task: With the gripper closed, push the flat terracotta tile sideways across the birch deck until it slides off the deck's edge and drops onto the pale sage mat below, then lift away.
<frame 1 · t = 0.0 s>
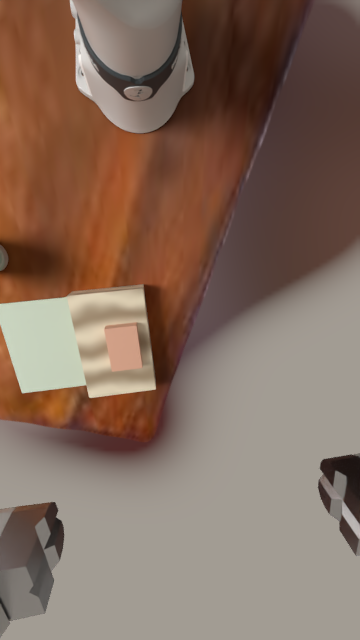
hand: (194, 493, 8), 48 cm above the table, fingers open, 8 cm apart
mat: (44, 346, 56), on the table
deck: (117, 338, 57), on the table
card: (124, 345, 53), point 4 cm above the table, touching deck
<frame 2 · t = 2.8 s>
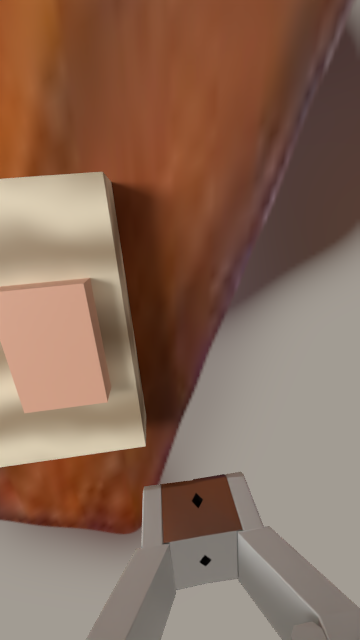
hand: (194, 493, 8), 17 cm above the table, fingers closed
deck: (51, 325, 24), on the table
card: (61, 341, 20), point 4 cm above the table, touching deck
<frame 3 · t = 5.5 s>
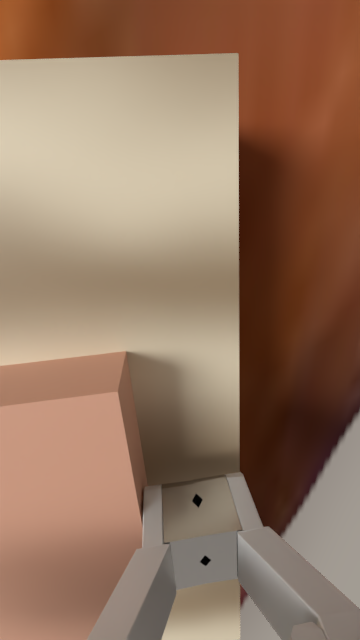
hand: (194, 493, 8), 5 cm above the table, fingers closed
deck: (65, 411, 12), on the table
card: (53, 486, 9), point 4 cm above the table, touching deck, gripper
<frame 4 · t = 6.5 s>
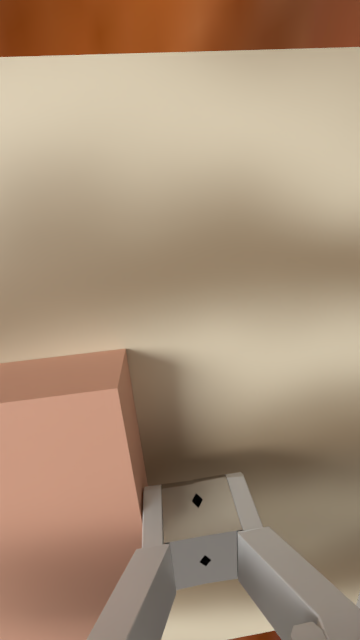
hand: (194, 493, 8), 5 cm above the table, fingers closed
deck: (188, 394, 13), on the table
card: (53, 485, 9), point 4 cm above the table, touching gripper
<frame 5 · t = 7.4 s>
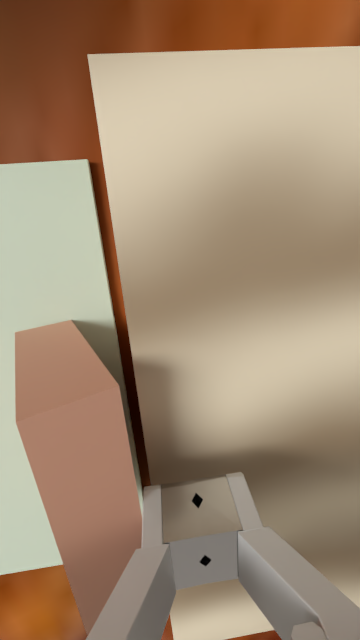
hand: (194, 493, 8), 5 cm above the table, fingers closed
deck: (290, 380, 13), on the table
card: (111, 455, 10), point 3 cm above the table, tilted 65°, touching mat
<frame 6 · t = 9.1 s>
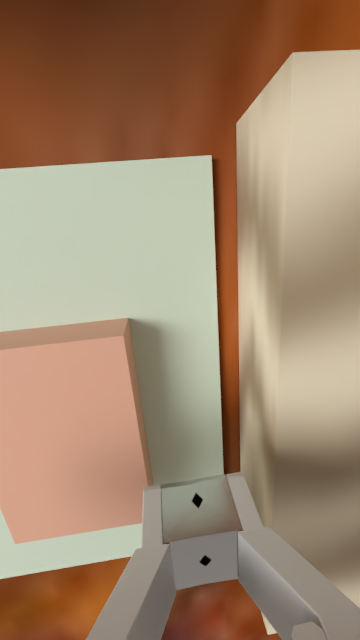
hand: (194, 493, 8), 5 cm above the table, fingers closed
mat: (71, 412, 12), on the table
card: (62, 452, 10), point 2 cm above the table, tilted 180°, touching mat
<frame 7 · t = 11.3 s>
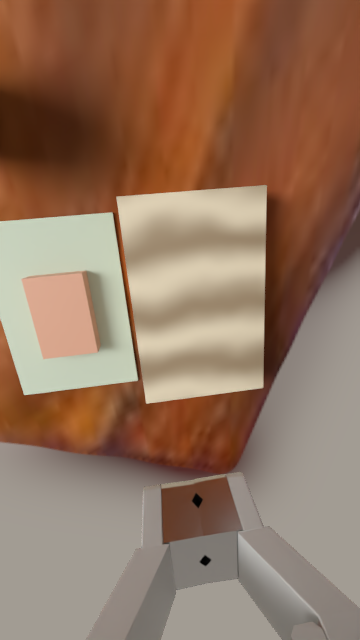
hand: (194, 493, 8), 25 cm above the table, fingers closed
mat: (65, 311, 31), on the table
deck: (194, 297, 32), on the table
card: (61, 317, 29), point 2 cm above the table, tilted 180°, touching mat
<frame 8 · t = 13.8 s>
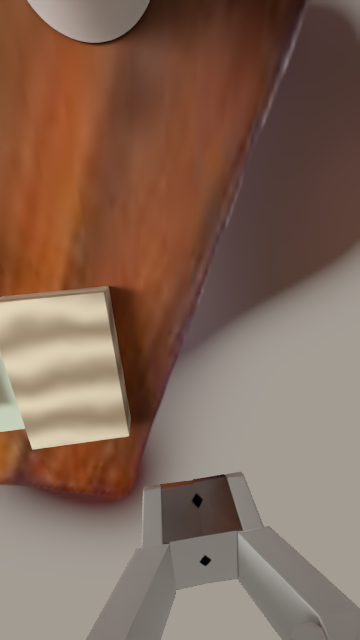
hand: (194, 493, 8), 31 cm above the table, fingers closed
deck: (73, 363, 40), on the table
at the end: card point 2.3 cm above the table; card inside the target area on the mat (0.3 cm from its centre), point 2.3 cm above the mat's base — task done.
